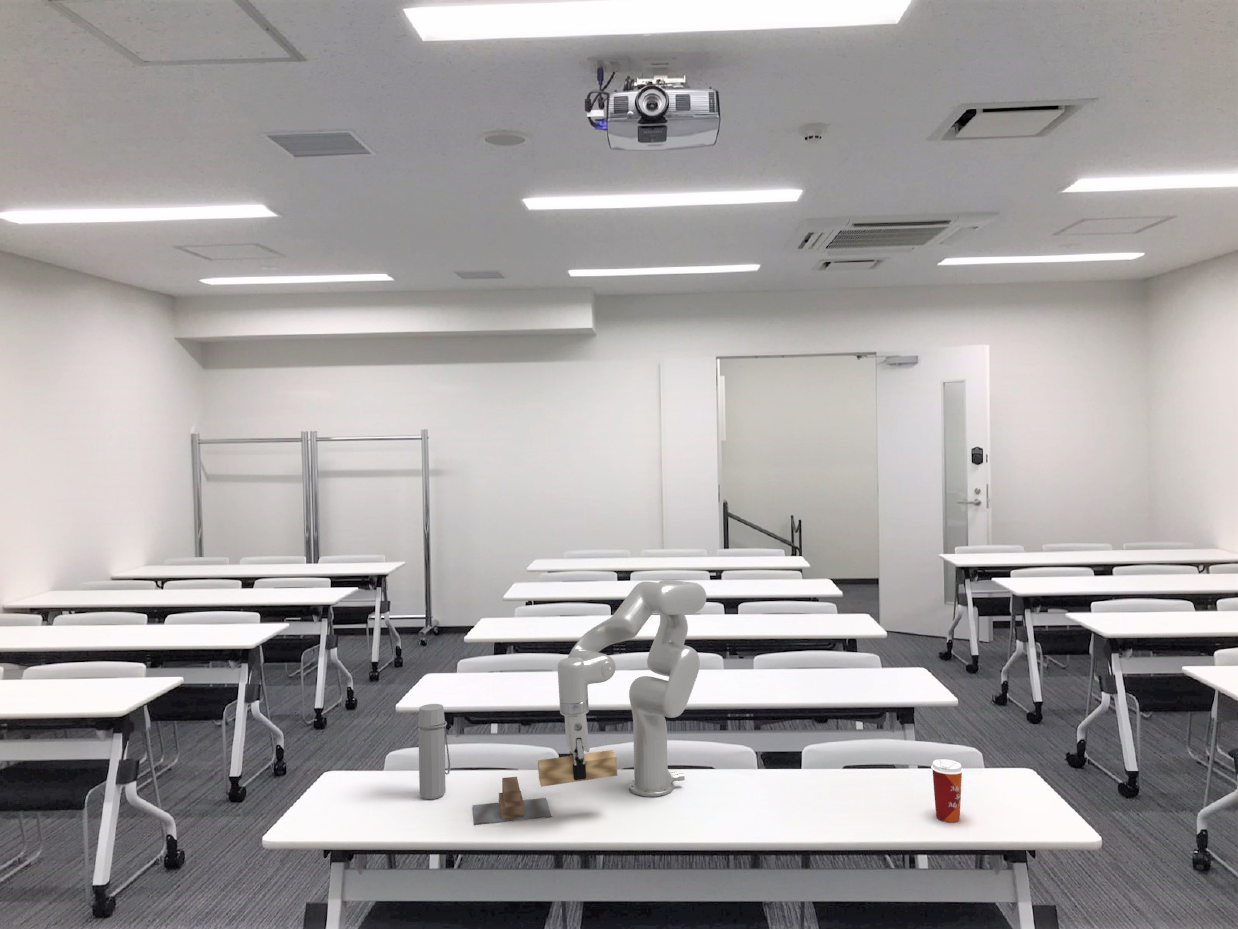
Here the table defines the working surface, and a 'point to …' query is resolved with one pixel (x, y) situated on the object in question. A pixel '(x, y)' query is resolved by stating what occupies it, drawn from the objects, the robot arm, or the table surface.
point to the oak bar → (562, 768)
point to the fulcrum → (510, 806)
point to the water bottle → (432, 751)
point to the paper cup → (947, 789)
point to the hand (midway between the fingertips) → (578, 774)
